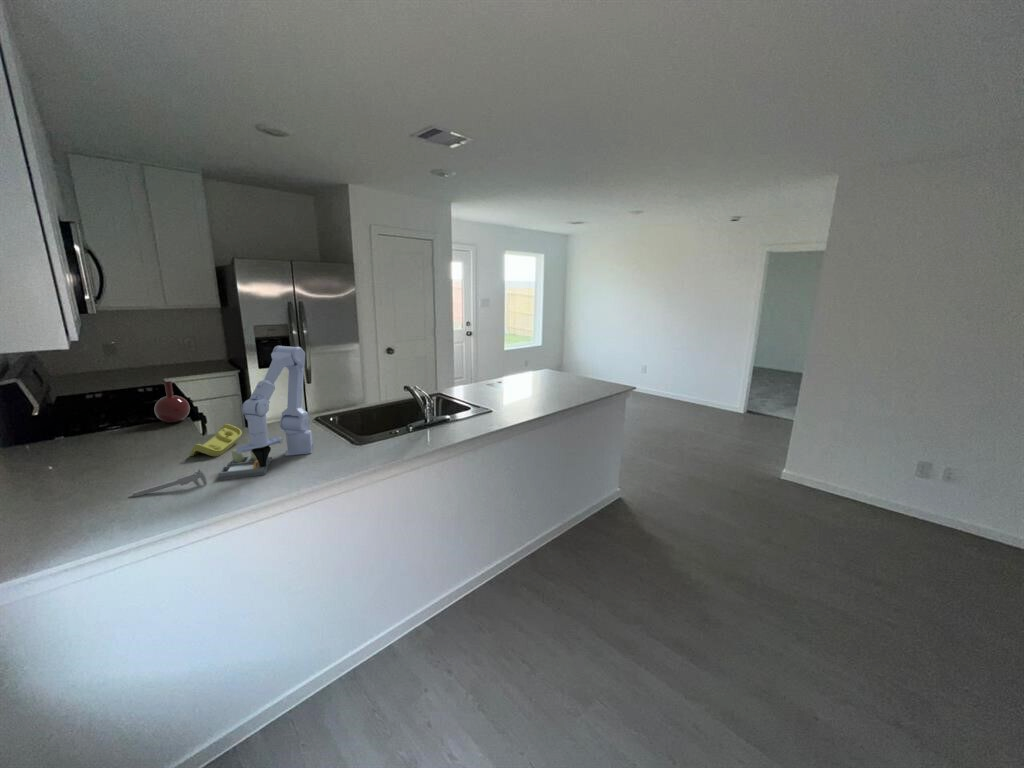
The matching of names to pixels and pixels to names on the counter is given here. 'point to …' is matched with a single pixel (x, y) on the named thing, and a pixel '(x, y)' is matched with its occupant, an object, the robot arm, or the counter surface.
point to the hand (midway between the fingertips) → (262, 465)
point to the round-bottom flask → (171, 406)
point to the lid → (245, 467)
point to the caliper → (175, 483)
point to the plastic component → (219, 441)
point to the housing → (244, 473)
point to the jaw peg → (237, 457)
